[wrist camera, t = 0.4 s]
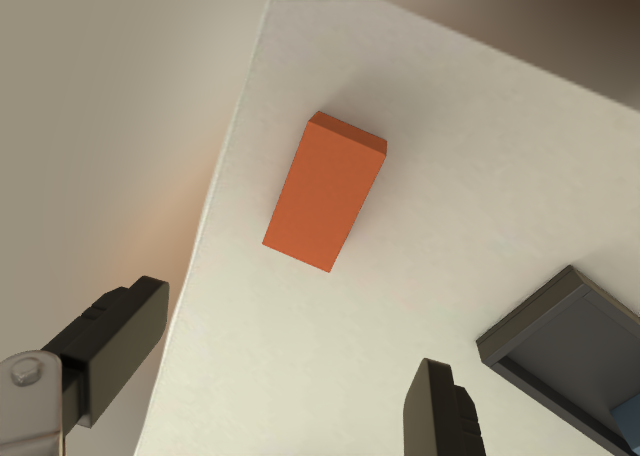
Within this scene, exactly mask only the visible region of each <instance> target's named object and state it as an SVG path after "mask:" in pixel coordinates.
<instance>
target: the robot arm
mask: <svg viewBox="0 0 640 456" xmlns="http://www.w3.org/2000/svg"><path fill="white" fill-rule="evenodd" d="M168 299H169V283H168V282H165V281H162V280H158V279H155V278H151V277H148V276H142V277H141V278H140V279H138V280H137V281H136V282H135V283H134V284H133V285H132V286H131V287H130V288H129V289H128V288H125V287H119V288H117V289H115V290H112V291H110V292H107V293H105V294H104V295H102V296H101V297H100V298H99V299H98V300H97V301H96V302H94V303H93V304H92V306H91V307H89V308H88V309H86V310H85V311H84V312H83V313H82V315H81V316H79V317H77V318H76V319H75V320H74V321H73V322H72V323H70V324H69V325H68V326H67V327H66V328H65V329H64V330H63V331H61V332H60V333H59V334H58V335H57V336H56V337H55V338H53V339H52V340H51V341H50V342H49V343H48V344H47V345H45V346H44V347H43V348H42V349H41V350H32V351H25V352H21V353H18V354H15V355H13V356H11V357H9V358H7V359H5V360H3V361H2V362H1V363H0V456H66V435H67V434H68V433H69V432H70V431H71V429H72V428H73V427H74V426H75V425H76V424H78V425H81V426H84V427H87V428H91V427H92V426H93V425H94V424H95V422H96V421H97V420H98V418H99V417H100V416H101V415H102V413H103V412H104V411H105V409H106V408H107V407H108V406H109V404H110V403H111V402H112V400H113V399H114V398H115V397H116V395H117V394H118V393H119V392H120V390H121V389H122V388H123V386H124V385H125V384H126V382H127V381H128V380H129V379H130V377H131V376H132V375H133V373H134V372H135V371H136V370H137V368H138V367H139V366H140V365H141V363H142V362H143V360H144V359H145V358H146V357H147V356H148V354H149V353H150V352H151V350H152V349H153V348H154V346H155V345H156V344H157V343H158V341H159V340H160V338H161V336H162V334H163V332H164V330H165V326H166V322H167V311H168ZM403 426H404V456H486V453H485V448H484V444H483V439H482V437H481V431H480V426H479V423H478V417H477V413H476V408H475V404H474V402H473V401H472V399H471V397H470V396H469V394H468V393H467V391H466V390H465V388H464V387H460V386H457V385H454V381H453V375H452V370H451V366H450V365H448V364H445V363H441V362H438V361H435V360H431V359H428V358H424V359H423V360H422V362H421V364H420V366H419V368H418V370H417V373H416V375H415V377H414V379H413V382H412V384H411V386H410V388H409V391H408V393H407V396H406V399H405V404H404V410H403Z"/></svg>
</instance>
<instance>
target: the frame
mask: <svg viewBox="0 0 640 456" xmlns="http://www.w3.org/2000/svg"><path fill="white" fill-rule="evenodd" d="M476 344H477V346H478V351H479V354H480V358H481V362H482V363H483V364H485V365H486V366H488V367H490V369H492V370H493V371H494V372H496V373H497V374H499V375H500V376H502V377H503V378H504V379H506V380H507V381H509V382H510V383H512V384H513V385H514V386H516V387H517V388H519V389H520V390H522V391H523V392H524V393H526V394H527V395H529V396H530V397H532V398H533V399H534V400H536V401H537V402H539V403H540V404H542V405H543V406H544V407H546V408H547V409H549V410H550V411H552V412H553V413H554V414H556V415H557V416H559V417H560V418H562V419H563V420H564V421H566V422H567V423H569V424H570V425H572V426H573V427H574V428H576V429H577V430H579V431H580V432H582V433H583V434H585V435H586V436H587V437H589V438H590V439H592V440H593V441H595V442H596V443H597V444H599V445H600V446H602V447H603V448H605V449H606V450H607V451H609V452H610V453H612V454H613V455H615V456H639V455H638V454H636V453H635V452H634V451H632V449H631V448H630V446H629V444H628V443H627V441H626V439H625V437H624V436H623V434H622V432H621V430H620V429H619V427H618V425H617V423H616V422H615V420H614V418H613V416H612V415H611V413H610V411H611V410H613V409H614V408H616V407H618V406H619V405H621V404H623V403H624V402H626V401H628V400H629V399H631V398H633V397H634V396H636V395H638V394H639V393H640V318H639V317H638V316H637V315H635V314H634V313H633V312H631V311H630V310H629V309H627V308H626V307H625V306H624V305H622V304H621V303H620V302H618V301H617V300H616V299H614V298H613V297H612V296H610V295H609V294H608V293H607V292H605V291H604V290H603V289H601V288H600V287H599V286H597V285H596V284H595V283H593V282H592V281H591V280H590V279H588V278H587V277H586V276H584V275H583V274H582V273H580V272H579V271H578V270H576V269H575V268H574V267H573V266H571V265H569V266H568V267H567V268H565V269H564V270H563V271H562V272H561V273H559V274H558V275H557V276H556V277H554V278H553V279H552V280H551V281H549V282H548V283H547V284H546V285H545V286H543V287H542V288H541V289H540V290H538V291H537V292H536V293H535V294H533V295H532V296H531V297H530V298H529V299H527V300H526V301H525V302H524V303H522V304H521V305H520V306H519V307H518V308H516V309H515V310H514V311H513V312H511V313H510V314H509V315H508V316H506V317H505V318H504V319H503V320H502V321H500V322H499V323H498V324H497V325H495V326H494V327H493V328H492V329H490V330H489V331H488V332H487V333H486V334H484V335H483V336H482V337H481V338H479V339H478V340H477V341H476Z"/></svg>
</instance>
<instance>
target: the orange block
mask: <svg viewBox="0 0 640 456" xmlns="http://www.w3.org/2000/svg"><path fill="white" fill-rule="evenodd" d="M386 152H387V141H385V140H383V139H381V138H379V137H376V136H374V135H372V134H369V133H367V132H365V131H363V130H360V129H358V128H356V127H353V126H351V125H349V124H347V123H344V122H342V121H340V120H337V119H335V118H333V117H331V116H328V115H326V114H324V113H321V112H319V111H318V112H317V113H316V114H315V115H314V116H313V117H312V118H311V119H310V120H309V121H308V123H307V126H306V128H305V131H304V134H303V136H302V139H301V142H300V144H299V147H298V150H297V152H296V155H295V157H294V160H293V163H292V165H291V168H290V171H289V173H288V176H287V179H286V181H285V184H284V187H283V189H282V192H281V195H280V197H279V200H278V203H277V205H276V208H275V211H274V213H273V216H272V219H271V221H270V224H269V227H268V229H267V232H266V234H265V237H264V240H263V242H262V244H263V245H265V246H268V247H270V248H272V249H275V250H277V251H279V252H282V253H284V254H286V255H289V256H291V257H293V258H296V259H298V260H300V261H303V262H305V263H307V264H310V265H312V266H314V267H317V268H319V269H321V270H324V271H326V272H328V273H329V272H330V271H331V269H332V267H333V264H334V262H335V260H336V258H337V256H338V254H339V252H340V250H341V248H342V246H343V244H344V242H345V240H346V238H347V236H348V234H349V232H350V229H351V227H352V225H353V223H354V221H355V219H356V217H357V215H358V213H359V211H360V209H361V207H362V205H363V203H364V201H365V199H366V196H367V194H368V192H369V190H370V188H371V186H372V184H373V182H374V180H375V178H376V176H377V174H378V172H379V170H380V168H381V166H382V163H383V161H384V159H385V157H386Z"/></svg>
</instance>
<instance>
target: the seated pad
mask: <svg viewBox="0 0 640 456" xmlns="http://www.w3.org/2000/svg"><path fill="white" fill-rule="evenodd" d="M610 413H611V415H612V416H613V418H614V420H615V422H616V423H617V425H618V427H619V429H620V430H621V432H622V434H623V436H624V437H625V439H626V441H627V443H628V444H629V446H630V448H631V449H632V451H634V452H635V453H636V454H638V455H639V456H640V393H639V394H638V395H636V396H634V397H633V398H631V399H629V400H628V401H626V402H624V403H623V404H621V405H619V406H618V407H616V408H614V409H613V410H611V411H610Z"/></svg>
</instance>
